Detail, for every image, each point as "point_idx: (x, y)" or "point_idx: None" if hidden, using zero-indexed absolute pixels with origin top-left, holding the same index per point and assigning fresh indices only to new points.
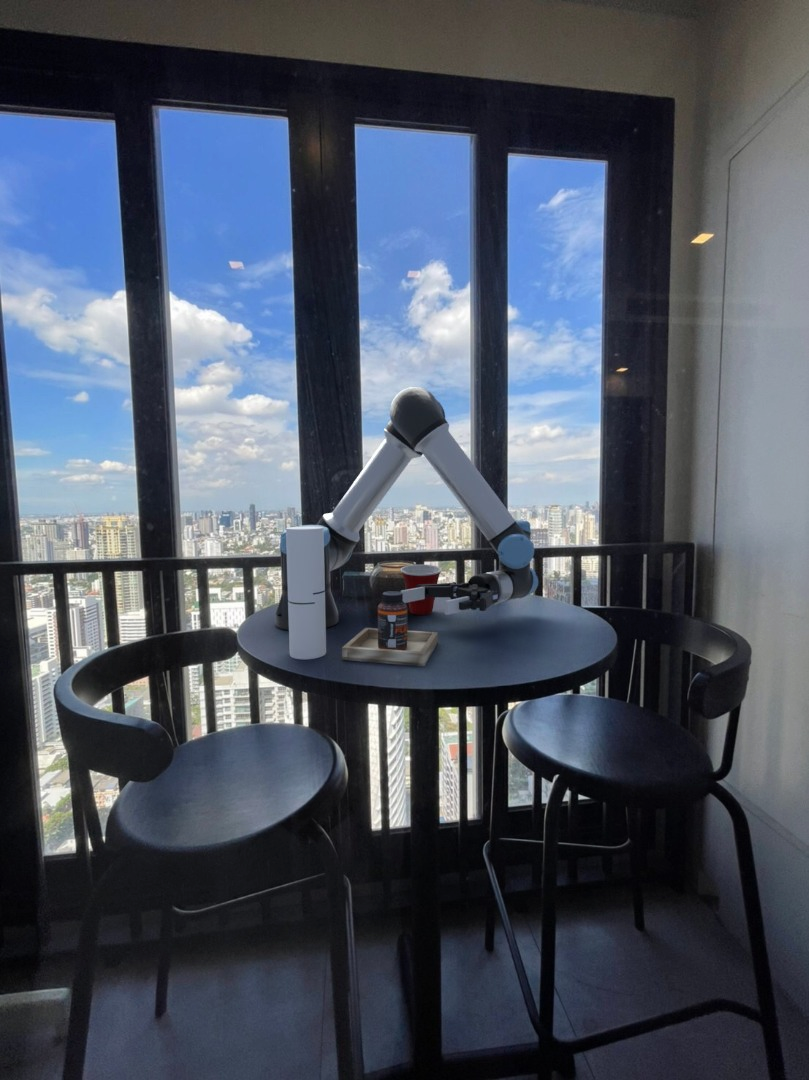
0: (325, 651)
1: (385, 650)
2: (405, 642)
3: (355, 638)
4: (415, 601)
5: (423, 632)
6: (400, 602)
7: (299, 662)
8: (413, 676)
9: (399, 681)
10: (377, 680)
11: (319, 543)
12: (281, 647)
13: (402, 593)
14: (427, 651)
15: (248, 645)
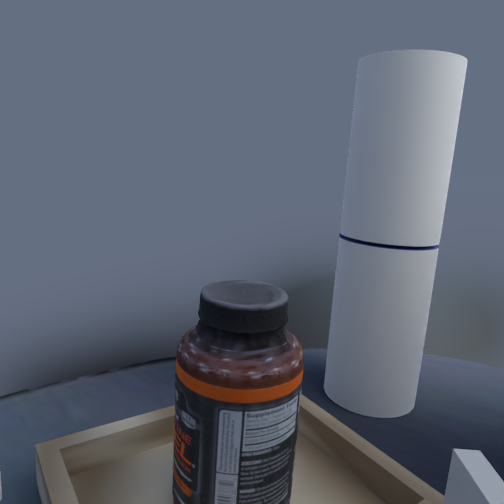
0: (342, 401)
1: (168, 408)
2: (174, 487)
3: (329, 421)
4: None
5: None
6: (197, 324)
7: (319, 368)
8: (38, 430)
9: (60, 402)
10: (111, 387)
11: (361, 101)
12: (443, 385)
13: (454, 465)
14: (45, 488)
15: (484, 365)
